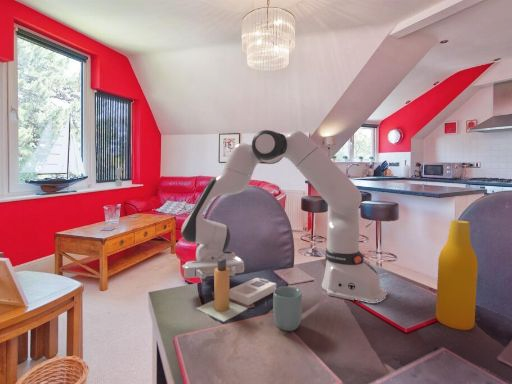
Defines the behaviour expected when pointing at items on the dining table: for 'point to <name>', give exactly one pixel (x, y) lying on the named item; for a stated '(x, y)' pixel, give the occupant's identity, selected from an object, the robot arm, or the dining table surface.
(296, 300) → the cup
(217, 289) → the orange capped bottle
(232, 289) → the white bottle holder
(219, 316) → the mat
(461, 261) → the beer bottle
